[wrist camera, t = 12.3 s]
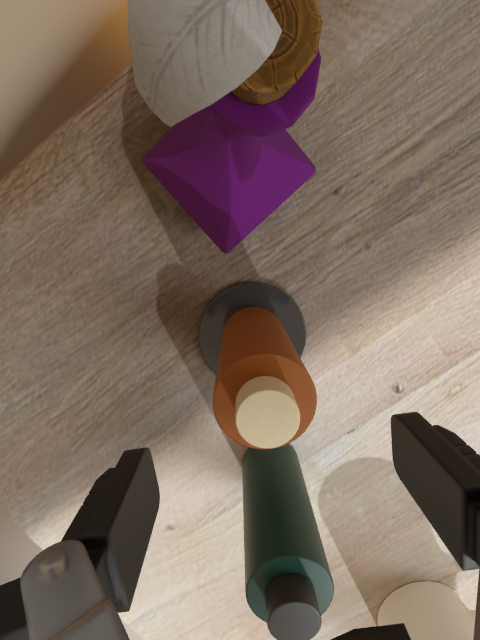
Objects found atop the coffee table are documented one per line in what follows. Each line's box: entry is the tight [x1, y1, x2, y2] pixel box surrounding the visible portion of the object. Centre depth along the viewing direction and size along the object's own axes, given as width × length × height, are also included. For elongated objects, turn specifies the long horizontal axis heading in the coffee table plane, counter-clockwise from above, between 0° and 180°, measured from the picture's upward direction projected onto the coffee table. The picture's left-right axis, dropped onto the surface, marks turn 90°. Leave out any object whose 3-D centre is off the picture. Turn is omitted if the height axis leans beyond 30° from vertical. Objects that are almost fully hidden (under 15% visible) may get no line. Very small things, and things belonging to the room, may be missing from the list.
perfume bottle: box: [128, 0, 322, 253], centre depth 15 cm, size 8×8×18 cm
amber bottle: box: [213, 307, 317, 449], centre depth 20 cm, size 5×5×12 cm
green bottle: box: [242, 444, 334, 640], centre depth 23 cm, size 5×5×12 cm
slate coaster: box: [199, 283, 306, 374], centre depth 26 cm, size 8×8×1 cm
